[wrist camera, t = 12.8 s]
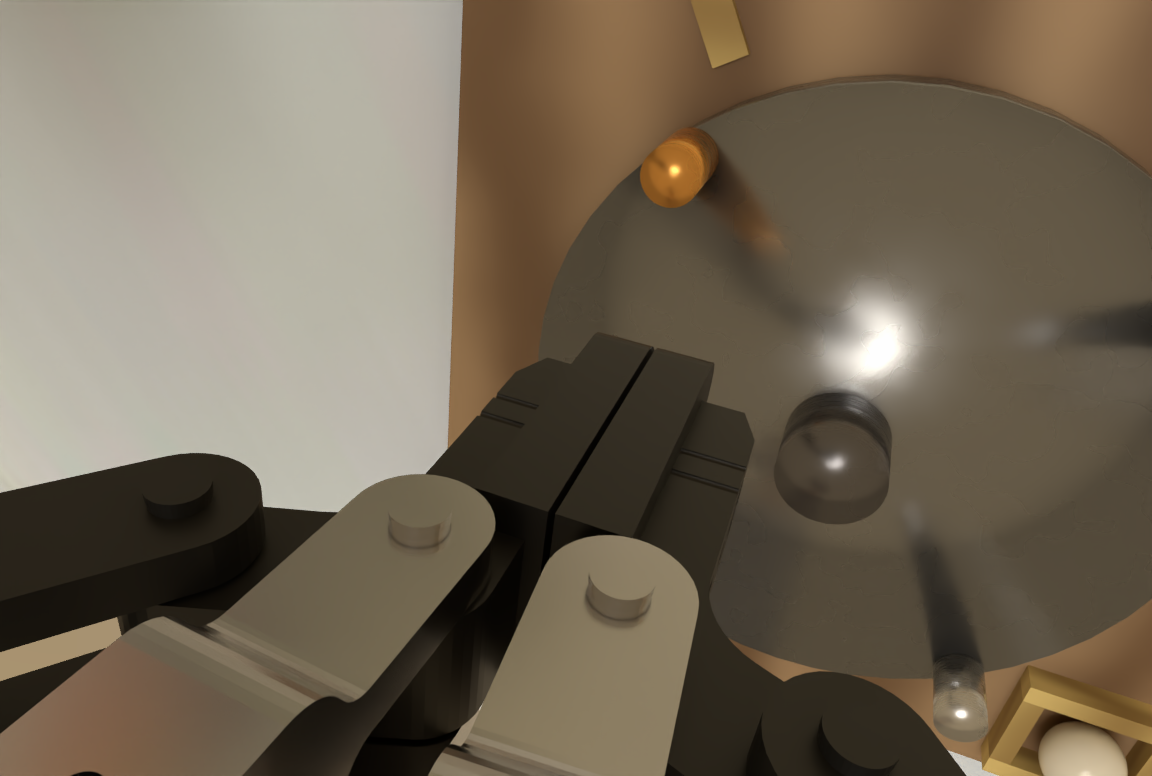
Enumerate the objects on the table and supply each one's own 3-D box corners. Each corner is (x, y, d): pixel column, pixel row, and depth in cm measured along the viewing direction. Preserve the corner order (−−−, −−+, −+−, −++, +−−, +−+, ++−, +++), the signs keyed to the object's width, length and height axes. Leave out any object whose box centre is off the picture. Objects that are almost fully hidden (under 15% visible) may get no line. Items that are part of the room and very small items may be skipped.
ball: (1022, 741, 35) (1029, 803, 33) (1051, 694, 34) (1061, 755, 31) (1100, 768, 35) (1113, 833, 32) (1133, 721, 33) (1150, 786, 31)
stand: (457, 551, 44) (432, 585, 42) (487, -113, 28) (449, -115, 26) (1124, 785, 36) (1137, 841, 34) (1674, 51, 21) (1763, 68, 18)
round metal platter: (906, 734, 37) (903, 817, 33) (469, 440, 38) (424, 492, 34) (1452, 359, 24) (1539, 434, 20) (760, -82, 24) (732, -81, 21)
